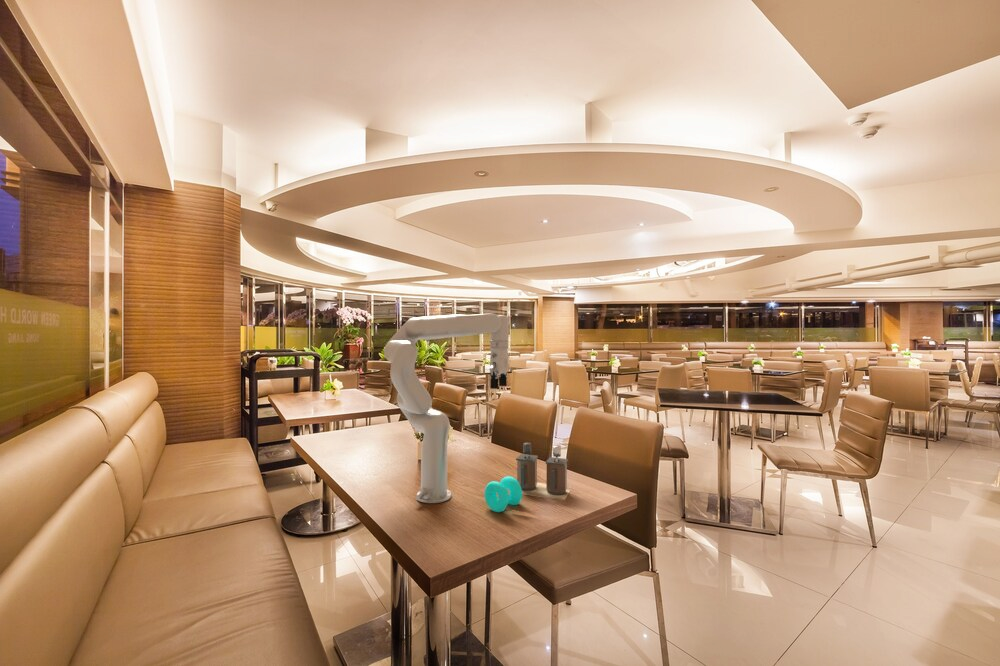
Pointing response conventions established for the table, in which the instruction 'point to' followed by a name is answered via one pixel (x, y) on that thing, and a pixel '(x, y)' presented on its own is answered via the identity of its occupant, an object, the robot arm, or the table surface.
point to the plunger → (556, 451)
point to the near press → (556, 476)
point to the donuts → (503, 493)
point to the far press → (527, 469)
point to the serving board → (545, 492)
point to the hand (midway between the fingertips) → (498, 387)
